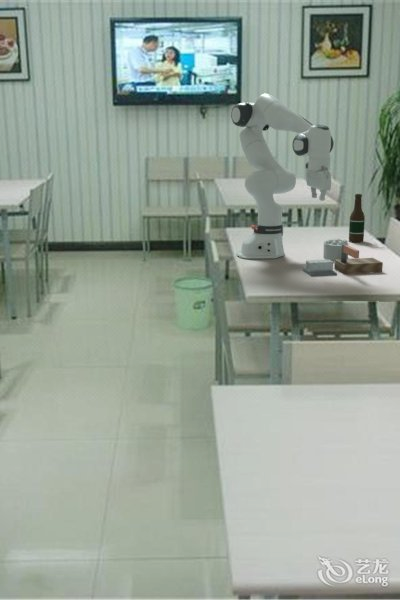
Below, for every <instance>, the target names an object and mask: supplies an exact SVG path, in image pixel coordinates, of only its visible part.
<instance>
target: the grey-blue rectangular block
mask: <svg viewBox="0 0 400 600" xmlns="http://www.w3.org/2000/svg"><path fill="white" fill-rule="evenodd" d="M305 268H306V270H307V271H308V272H330V271H334V261H331V260H329V259H326V260H325V259H307V260H305Z"/></svg>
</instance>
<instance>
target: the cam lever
mask: <svg viewBox="0 0 400 600" xmlns="http://www.w3.org/2000/svg"><path fill="white" fill-rule="evenodd" d="M347 254H348V257H349V256H350V257H351V258H352V259H357V258H360V250H359V249H356V248H355V247H353V246H350V245H349V244H348V245H347V244H342V246H341V262H347Z"/></svg>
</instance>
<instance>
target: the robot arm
mask: <svg viewBox="0 0 400 600" xmlns="http://www.w3.org/2000/svg"><path fill="white" fill-rule="evenodd" d="M230 116H231V122H232V123H233V124H234V125H235V126H236V127H240V128H242V129H241V130H240V132H239V140H240V145H241V148H242V150H243V153H244V155H245V158H246V160H247V163H248V164H249V166H250V167H251V168H252V169H253V170H255V171H253V172H249V173H248V174H247V176H245V180H244V187H245V190H246V192H247V193H248V194H249V195H251V196H252V198H253V199H254V201H255V204H256V206H257V224H256V225H255V224H251V226H250V228H251V229H252V230H253V232H252V234H251V235H248V237H246V238H245V239H243V240H242V243H241V249H240V250H238V251H236V253H235V254H236V256H237V257H238V256H239V257H238V258H241V259H245V260H246V259H249V260H250V259H278V258H280V257H283V256H285V255H286V254H285V248H284V244H283V235H284V225H283V207H282V206H281V205H280V204H279V203H278V202H276V201H275V198H274V195H279V194H286V193H288V192H291V191H293V190H294V188H295V187H296V183H297V180H296V174H294V172H293V171H292V170H290V169H288V168H287V167H285V166H283V165H282V164H281V163H280V162H279V161H278V160H277V159H276V158H275V156H274V155H273V153H272V152H271V150H270V148H269V146H268V143H267V141H266V140H265V137H264V135H263V131H264V132H265V131H268V130H269V128H271V129H273V130H275V131H283V132H284V131H285V132H292V133H293V132H294V133H297V134H296V135H295V136H294V137H293V141H292V151H293V153H294V154H295V155H297V157H308V161H307V162H306V163H305V167H304V168H305V169H306V171H305V176H306V177H305V178H306V185H307V186H308V187H310V192H311V198H313V199H316V198H317V197H318V193H317V190H320V191H319V192H320V195H319V201H321V202H324V201H325V200H326V198H325V197H326V194H327V191H330V190H331V189H332V174H331V171H330V170H331V152H332V150H333V149H334V143H335V142H334V139H333V136H332V134H331V129H330V127H329V126H327V125H324V124H312V123H311V122H310V121H309V120H307V119H306V118H304V117H303V116H301V115H300V114H298V113H296V112H295V111H293V110H292V109H290V108H289V107H288V106H287V105H285V104H284V103H283V101H281V100H280V99H278V98H277V97H276V96H274V95H272V94H270V93H263V94H260V95H258V97H257V98H256V100H255V101H252V102H240V103H237V104H235V105H234V106H233V107H232V109H231V114H230Z"/></svg>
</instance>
